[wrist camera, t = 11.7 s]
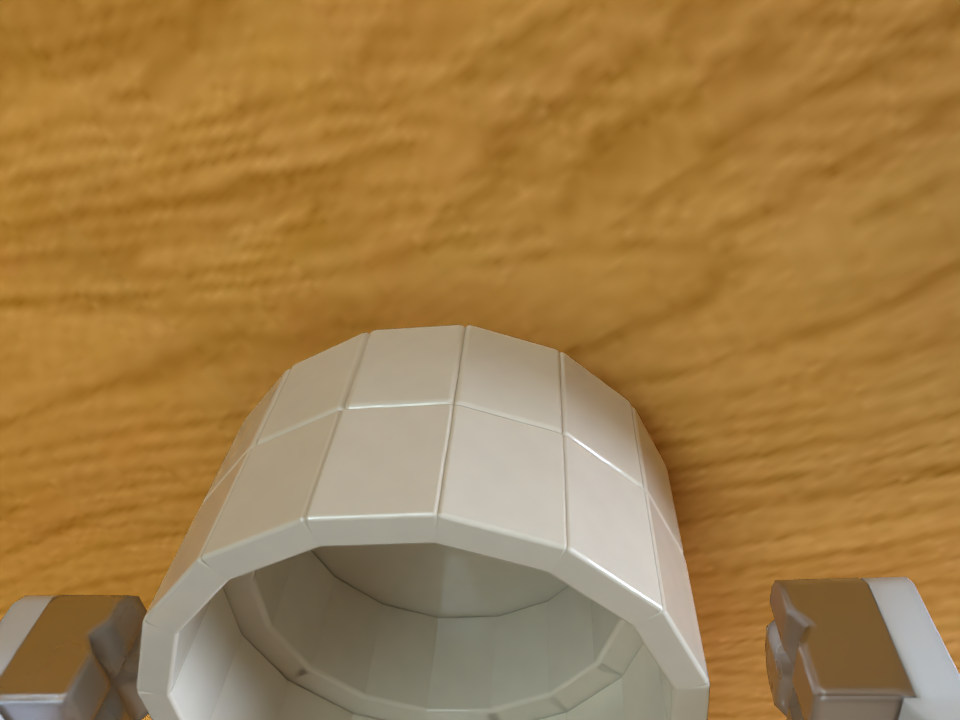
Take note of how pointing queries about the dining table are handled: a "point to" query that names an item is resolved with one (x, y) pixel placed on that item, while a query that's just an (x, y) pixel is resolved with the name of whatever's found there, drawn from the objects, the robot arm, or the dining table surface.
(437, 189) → the dining table surface
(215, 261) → the dining table surface
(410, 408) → the bowl
